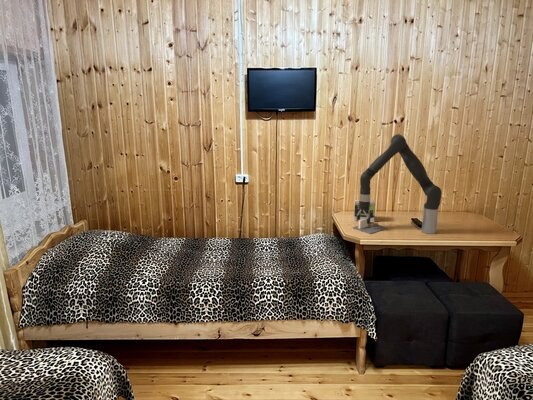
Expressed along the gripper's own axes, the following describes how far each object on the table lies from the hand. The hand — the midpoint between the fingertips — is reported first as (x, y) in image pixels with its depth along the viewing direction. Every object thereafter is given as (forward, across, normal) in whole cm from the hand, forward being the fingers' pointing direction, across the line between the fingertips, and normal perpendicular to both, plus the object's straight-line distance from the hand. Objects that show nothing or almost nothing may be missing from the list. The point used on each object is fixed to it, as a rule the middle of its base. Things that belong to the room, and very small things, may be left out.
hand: (363, 221), depth 273 cm
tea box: (+5, +13, -17) cm, 22 cm away
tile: (+1, 0, -5) cm, 5 cm away
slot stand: (+4, 0, -10) cm, 11 cm away
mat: (+5, -4, -4) cm, 7 cm away
